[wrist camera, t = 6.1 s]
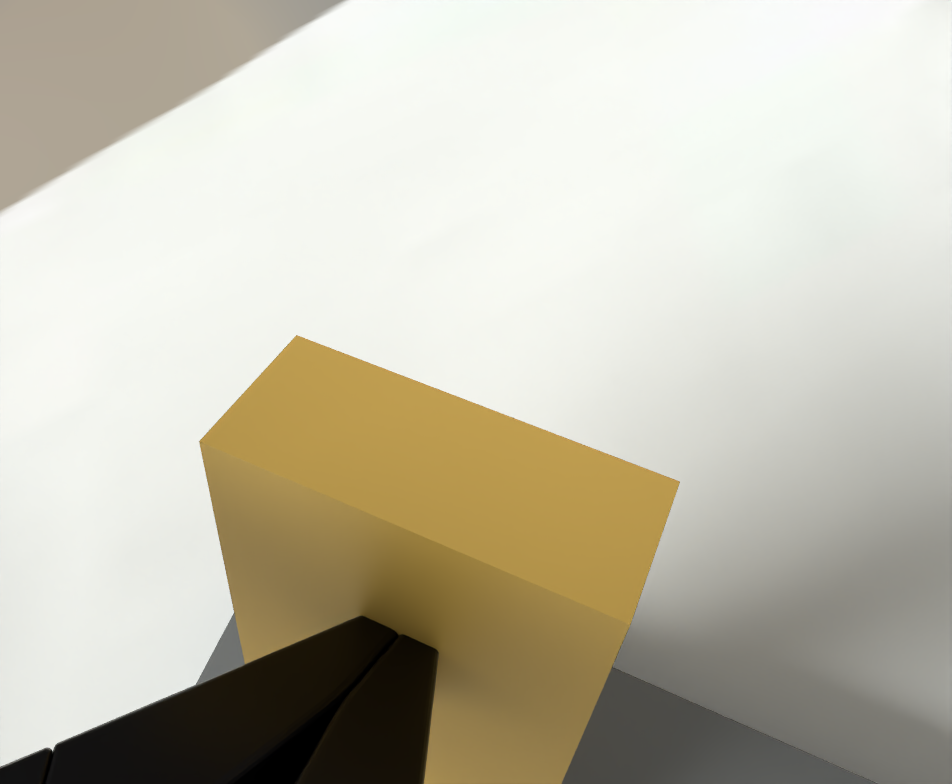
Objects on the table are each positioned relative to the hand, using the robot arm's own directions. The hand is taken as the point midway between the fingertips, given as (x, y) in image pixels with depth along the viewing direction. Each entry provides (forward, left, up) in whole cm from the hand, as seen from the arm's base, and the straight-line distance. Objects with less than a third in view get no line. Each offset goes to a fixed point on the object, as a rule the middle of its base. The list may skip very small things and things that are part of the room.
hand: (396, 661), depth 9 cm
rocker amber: (-2, +1, -7) cm, 7 cm away
